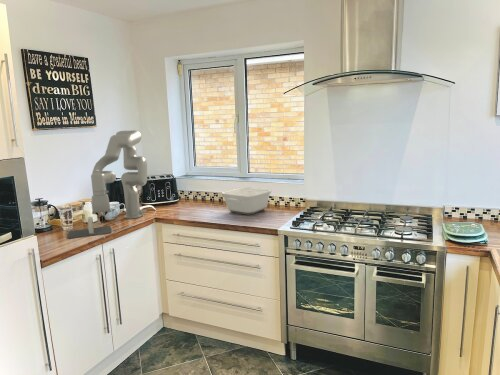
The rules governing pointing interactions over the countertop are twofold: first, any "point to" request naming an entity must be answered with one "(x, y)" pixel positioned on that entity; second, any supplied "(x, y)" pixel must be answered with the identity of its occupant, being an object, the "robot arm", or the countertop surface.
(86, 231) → the mat
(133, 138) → the robot arm
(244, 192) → the white plastic tub
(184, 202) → the countertop surface
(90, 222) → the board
